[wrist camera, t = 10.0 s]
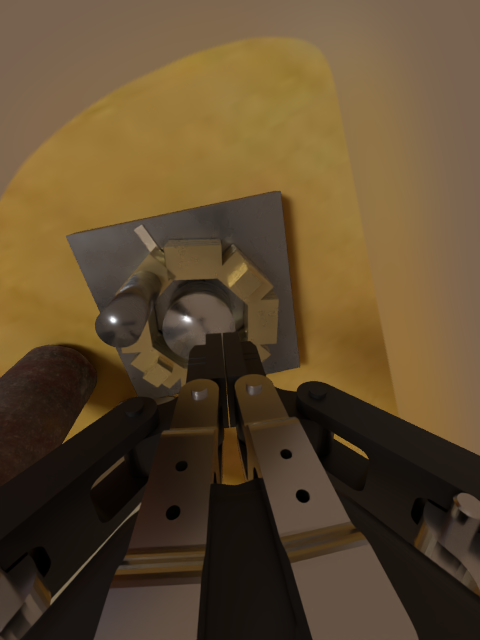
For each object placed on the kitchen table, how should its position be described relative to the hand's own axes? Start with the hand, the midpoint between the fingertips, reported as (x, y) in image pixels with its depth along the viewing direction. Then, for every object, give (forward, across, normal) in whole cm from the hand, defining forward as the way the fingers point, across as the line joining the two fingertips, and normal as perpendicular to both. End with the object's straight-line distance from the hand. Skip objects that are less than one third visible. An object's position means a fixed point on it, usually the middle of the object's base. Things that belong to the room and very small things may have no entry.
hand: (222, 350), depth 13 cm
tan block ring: (+14, +2, +4) cm, 14 cm away
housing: (+16, +2, +4) cm, 16 cm away
